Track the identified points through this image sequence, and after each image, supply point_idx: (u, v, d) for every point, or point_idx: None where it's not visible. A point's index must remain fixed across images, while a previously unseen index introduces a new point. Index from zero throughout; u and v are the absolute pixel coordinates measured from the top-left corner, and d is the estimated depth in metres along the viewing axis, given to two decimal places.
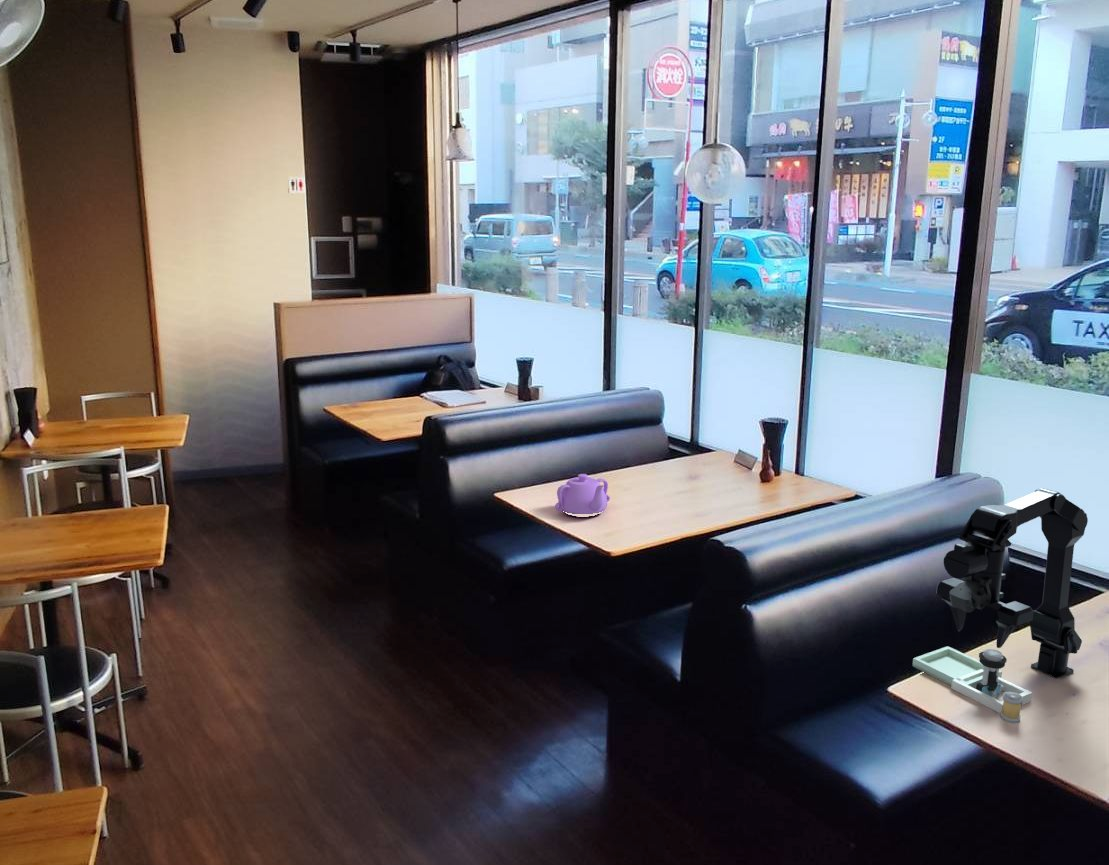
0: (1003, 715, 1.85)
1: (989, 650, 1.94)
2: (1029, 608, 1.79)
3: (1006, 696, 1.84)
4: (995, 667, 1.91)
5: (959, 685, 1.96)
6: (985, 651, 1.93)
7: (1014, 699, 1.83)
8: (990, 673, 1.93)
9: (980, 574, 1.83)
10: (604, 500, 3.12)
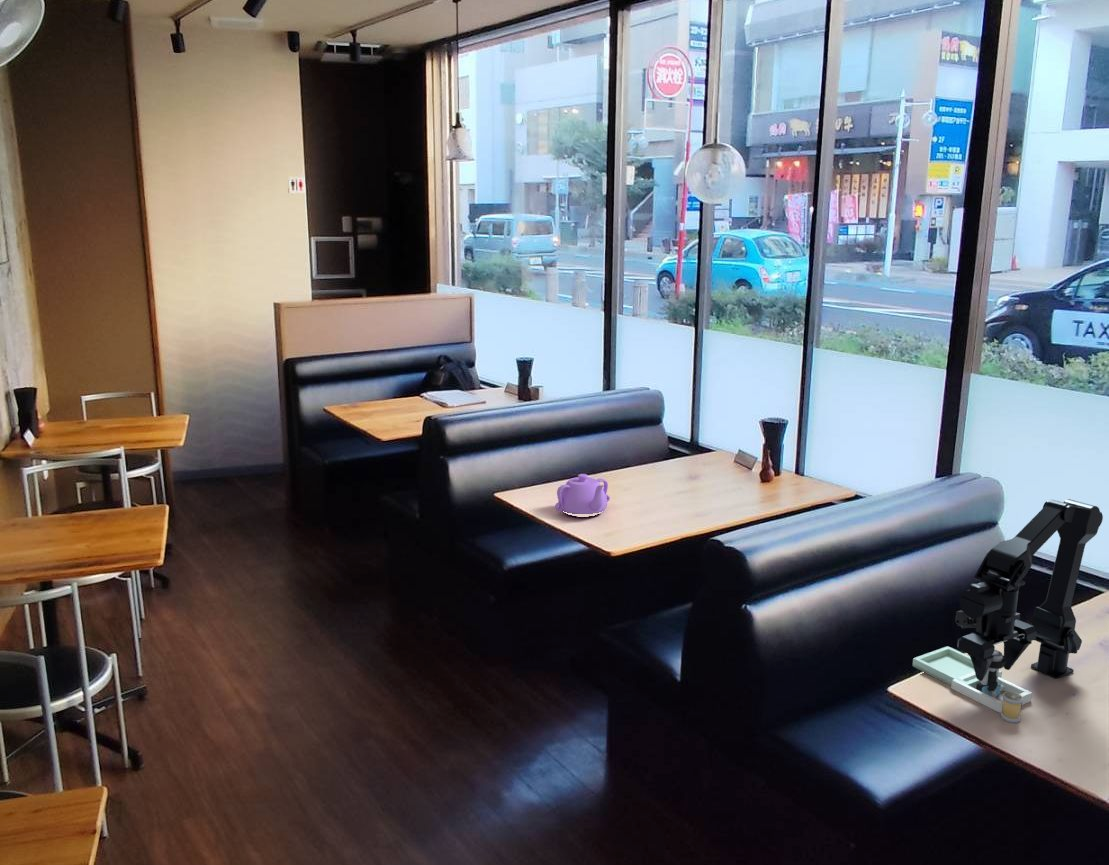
0: (1003, 715, 1.85)
1: None
2: (978, 644, 1.86)
3: (1006, 696, 1.84)
4: (995, 667, 1.91)
5: (959, 685, 1.96)
6: None
7: (1014, 699, 1.83)
8: (990, 673, 1.93)
9: None
10: (604, 500, 3.12)
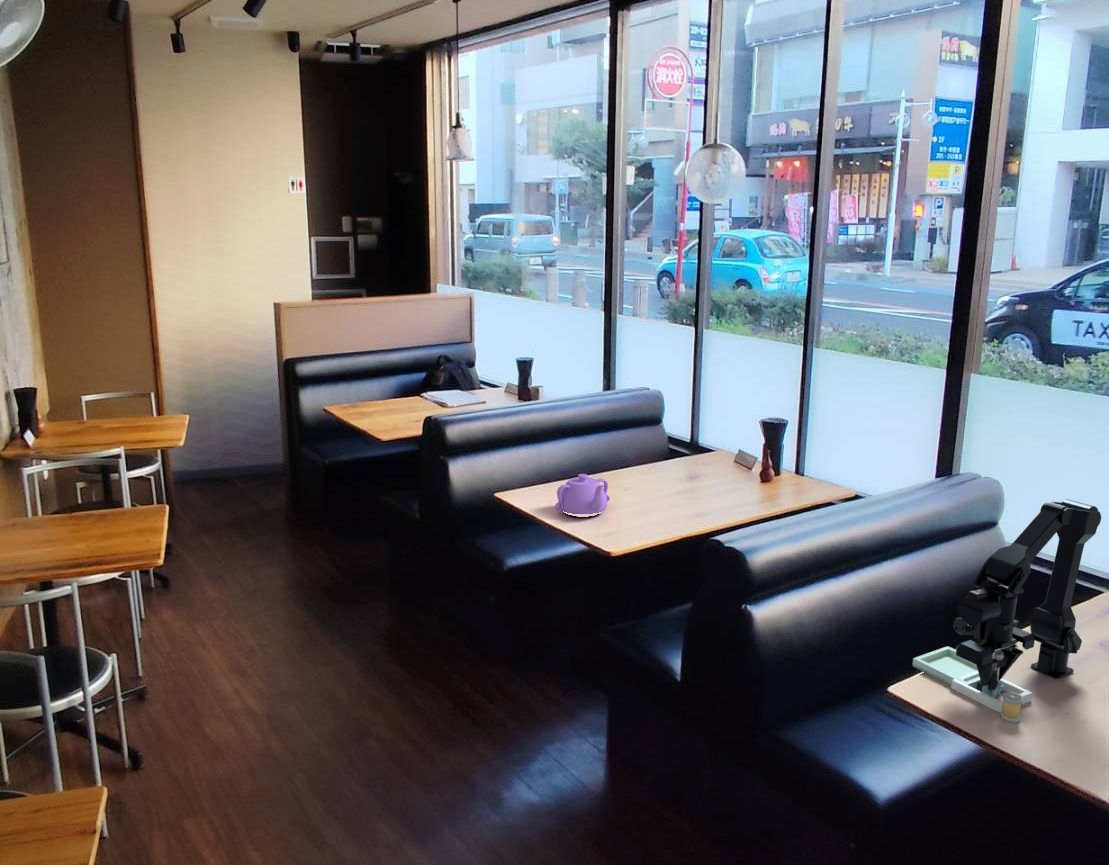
0: (1003, 715, 1.85)
1: None
2: (976, 651, 1.86)
3: (1006, 696, 1.84)
4: (996, 666, 1.91)
5: (959, 685, 1.96)
6: None
7: (1014, 699, 1.83)
8: None
9: None
10: (604, 500, 3.12)
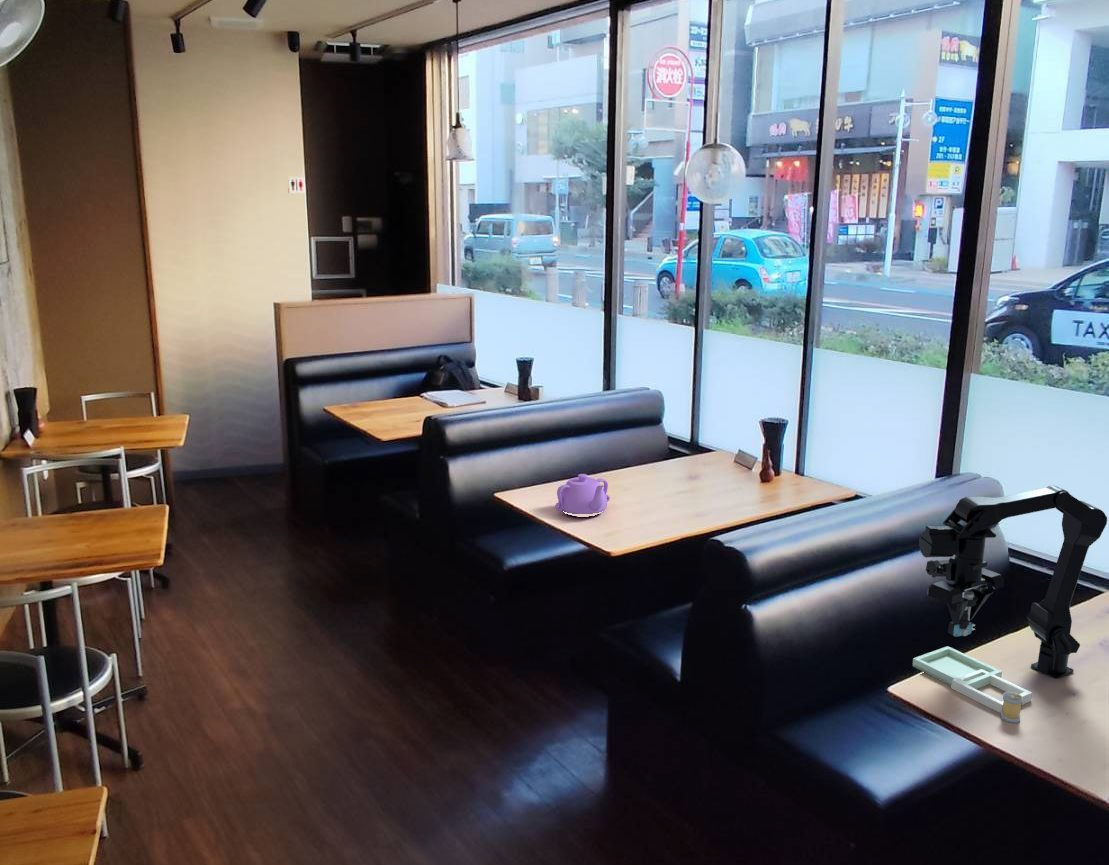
0: (1003, 715, 1.85)
1: None
2: (946, 590, 1.93)
3: (1006, 696, 1.84)
4: None
5: (959, 685, 1.96)
6: None
7: (1014, 699, 1.83)
8: None
9: None
10: (604, 500, 3.12)
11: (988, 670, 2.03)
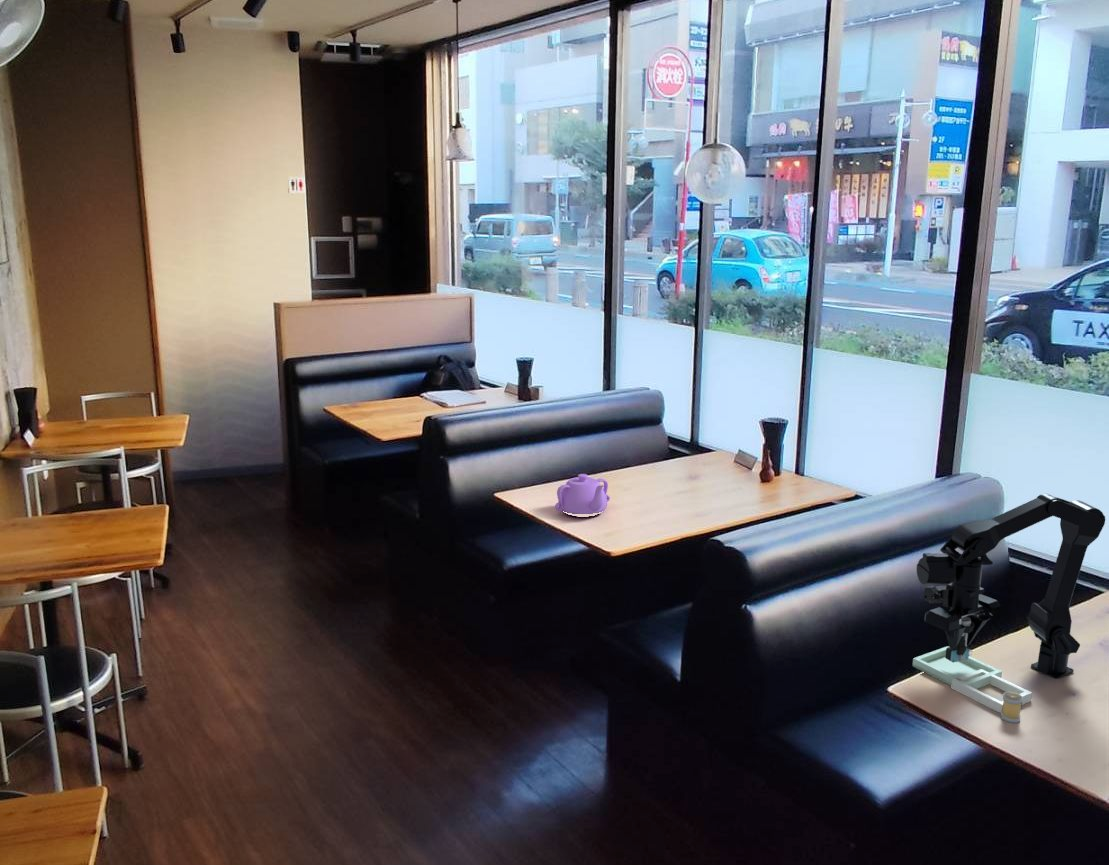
0: (1003, 715, 1.85)
1: None
2: (943, 617, 1.95)
3: (1006, 696, 1.84)
4: None
5: (959, 685, 1.96)
6: None
7: (1014, 699, 1.83)
8: None
9: None
10: (604, 500, 3.12)
11: (988, 670, 2.03)
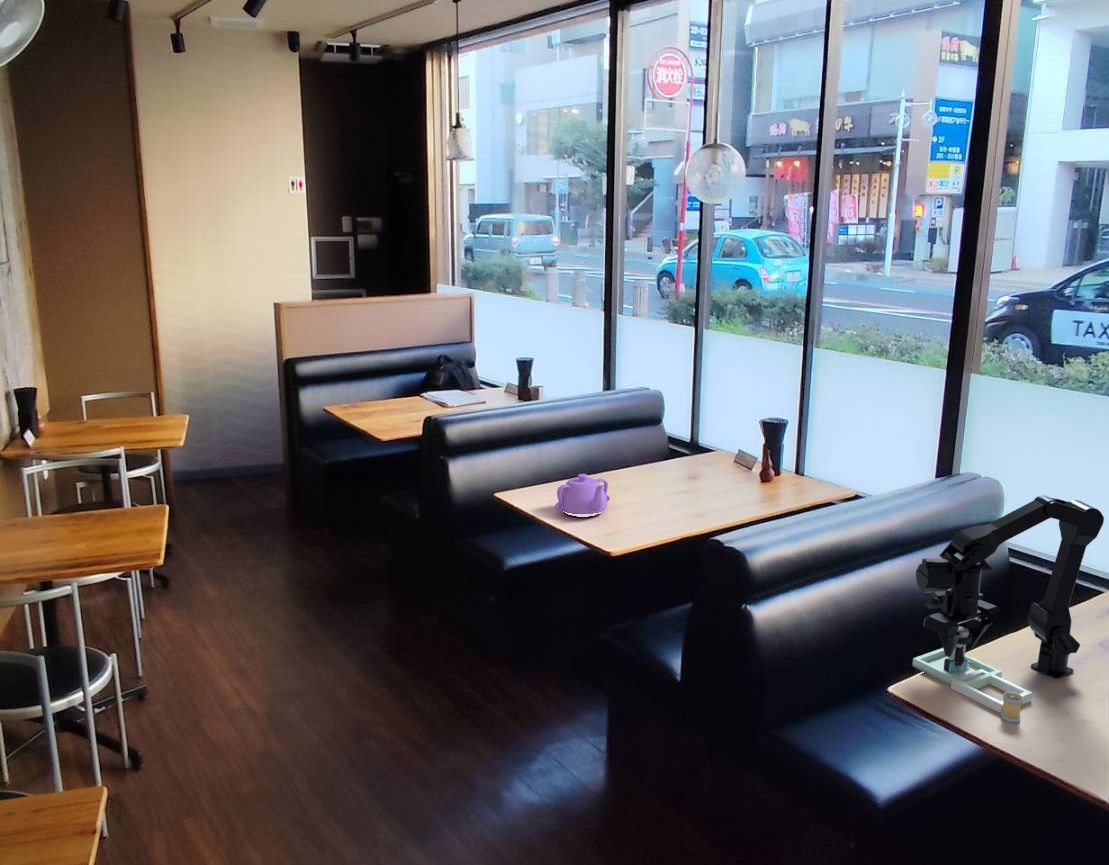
0: (1003, 715, 1.85)
1: None
2: (942, 623, 1.95)
3: (1006, 696, 1.84)
4: (961, 643, 2.00)
5: (959, 685, 1.96)
6: None
7: (1014, 699, 1.83)
8: (957, 649, 2.02)
9: None
10: (604, 500, 3.12)
11: (988, 670, 2.03)
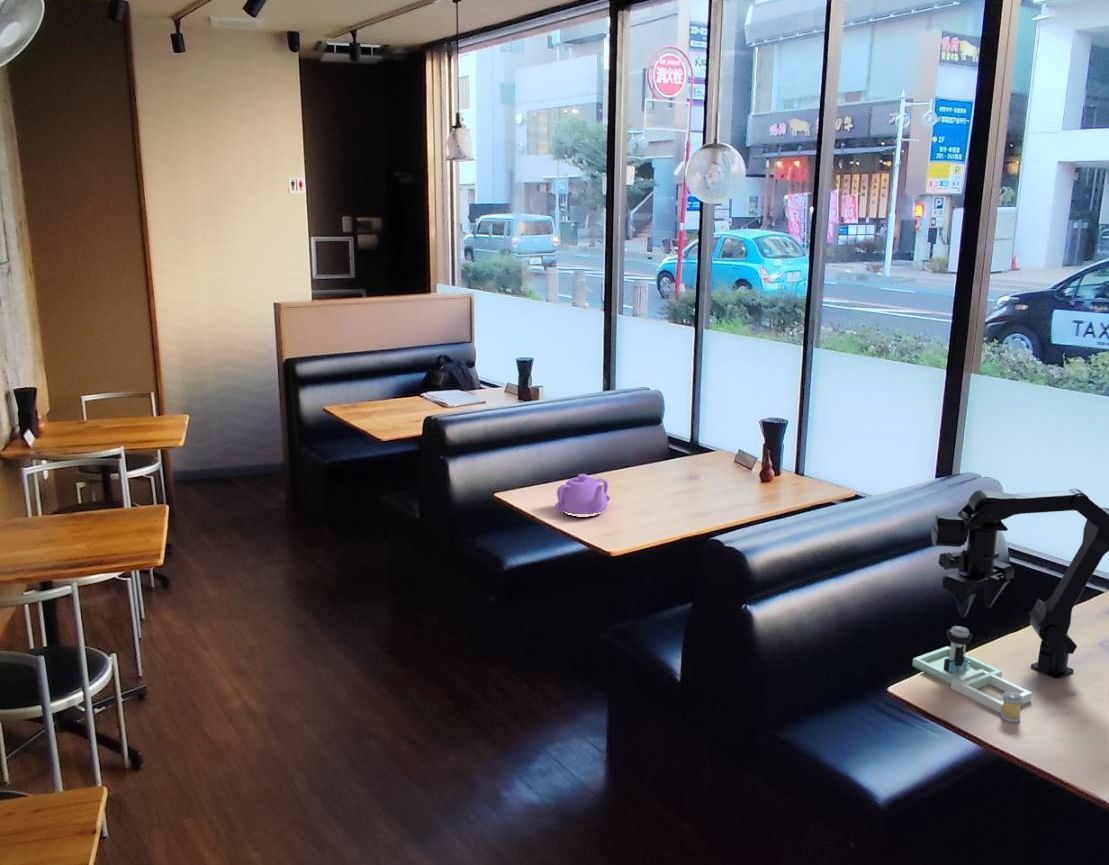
0: (1003, 715, 1.85)
1: (956, 627, 2.03)
2: (961, 582, 1.98)
3: (1006, 696, 1.84)
4: (961, 643, 2.00)
5: (959, 685, 1.96)
6: (952, 628, 2.02)
7: (1014, 699, 1.83)
8: (957, 649, 2.02)
9: None
10: (604, 500, 3.12)
11: (988, 670, 2.03)
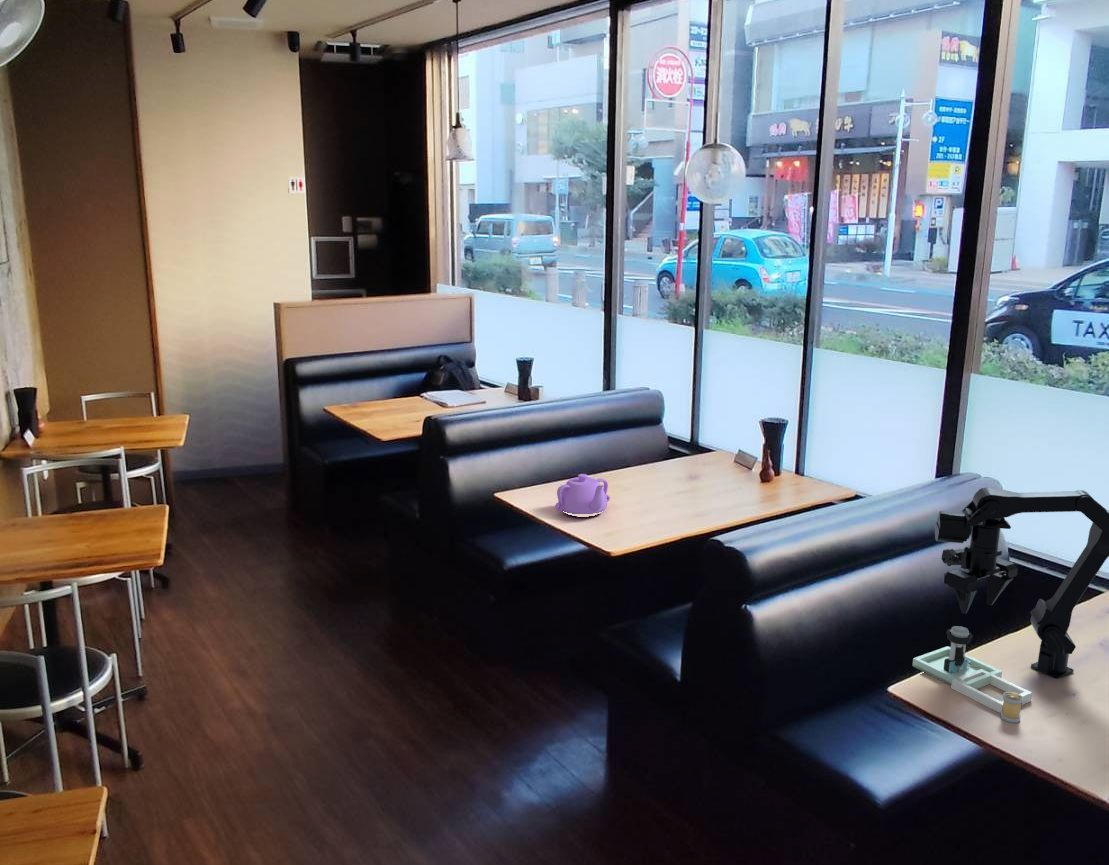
0: (1003, 715, 1.85)
1: (956, 627, 2.03)
2: (962, 578, 1.99)
3: (1006, 696, 1.84)
4: (961, 643, 2.00)
5: (959, 685, 1.96)
6: (952, 628, 2.02)
7: (1014, 699, 1.83)
8: (957, 649, 2.02)
9: None
10: (604, 500, 3.12)
11: (988, 670, 2.03)
